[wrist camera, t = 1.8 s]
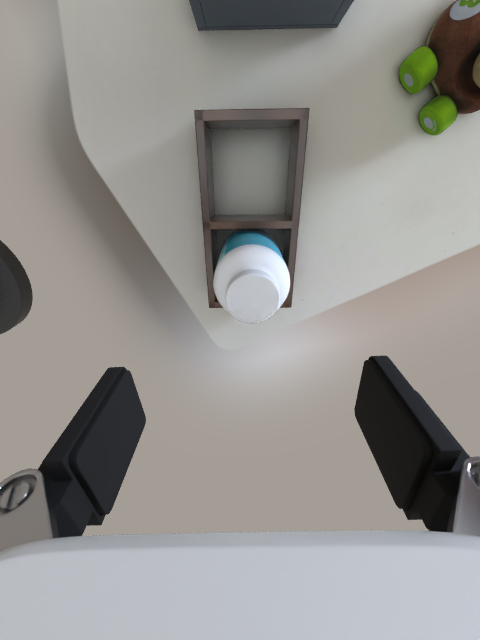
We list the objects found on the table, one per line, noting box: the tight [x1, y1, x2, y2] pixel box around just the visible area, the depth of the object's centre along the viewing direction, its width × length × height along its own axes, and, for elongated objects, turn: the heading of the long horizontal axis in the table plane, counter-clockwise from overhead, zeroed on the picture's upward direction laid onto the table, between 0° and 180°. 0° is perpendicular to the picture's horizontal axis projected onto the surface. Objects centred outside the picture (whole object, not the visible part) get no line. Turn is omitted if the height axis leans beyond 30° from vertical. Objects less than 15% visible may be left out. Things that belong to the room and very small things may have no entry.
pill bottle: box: [213, 229, 290, 323], centre depth 28 cm, size 8×7×14 cm
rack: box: [194, 108, 309, 308], centre depth 30 cm, size 10×19×5 cm, turn 1°
